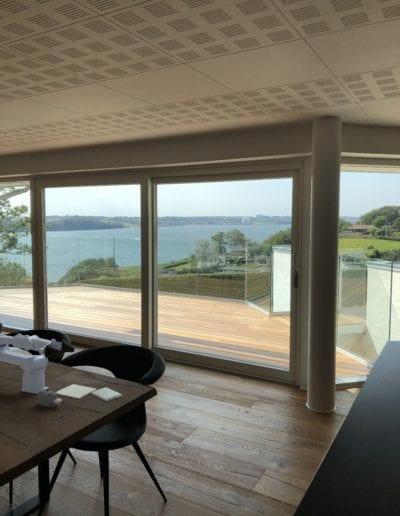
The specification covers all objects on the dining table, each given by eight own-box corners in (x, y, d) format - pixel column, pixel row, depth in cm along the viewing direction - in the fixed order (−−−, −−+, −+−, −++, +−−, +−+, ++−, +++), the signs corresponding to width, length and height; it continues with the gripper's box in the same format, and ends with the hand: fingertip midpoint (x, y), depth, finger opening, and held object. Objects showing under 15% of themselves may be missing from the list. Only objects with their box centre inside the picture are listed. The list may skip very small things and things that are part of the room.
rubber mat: (54, 393, 193) (54, 392, 193) (73, 385, 204) (73, 384, 203) (78, 399, 187) (78, 397, 187) (96, 390, 198) (96, 388, 198)
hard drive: (91, 391, 193) (106, 399, 184) (106, 386, 199) (122, 393, 190) (91, 395, 193) (106, 402, 184) (106, 390, 199) (122, 397, 190)
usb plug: (36, 404, 181) (36, 392, 181) (43, 400, 185) (43, 389, 185) (56, 408, 176) (56, 397, 176) (63, 405, 180) (63, 393, 180)
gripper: (32, 340, 187) (55, 345, 180) (57, 334, 199) (79, 339, 193) (31, 356, 187) (54, 362, 181) (56, 349, 200) (78, 355, 194)
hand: (67, 351), depth 187 cm, fingers open, 7 cm apart
